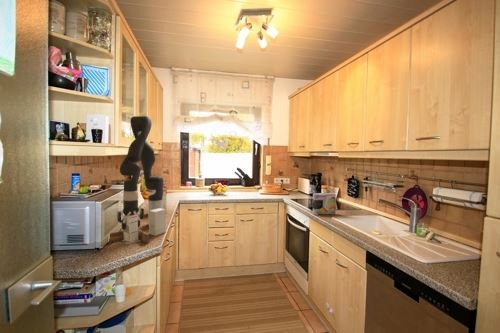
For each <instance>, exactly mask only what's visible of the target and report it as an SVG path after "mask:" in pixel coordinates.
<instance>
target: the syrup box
mask: <svg viewBox="0 0 500 333" xmlns="http://www.w3.org/2000/svg"><path fill="white" fill-rule="evenodd" d="M138 216H139V215H138ZM138 216H137V215H130V216H128V217H127V220H126V221H125V230H123V229H122V231H123V235H124V241H127V242H133V241H136V240H138V229H139V227H138ZM123 217H126V216H124V214H122V218H123Z"/></svg>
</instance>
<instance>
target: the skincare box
mask: <svg viewBox="0 0 500 333" xmlns="http://www.w3.org/2000/svg"><path fill="white" fill-rule="evenodd" d="M166 215H167V209H166V210H165V209H161V208H158V209H154V210H150V211H149V225H148V228H149V229H148V234H149V235H152V236H154V237H155V236H159V235H161V234H165V233H166V232H167V231H166V230H167V229H166V227H167V226H166V224H167V223H166Z"/></svg>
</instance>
